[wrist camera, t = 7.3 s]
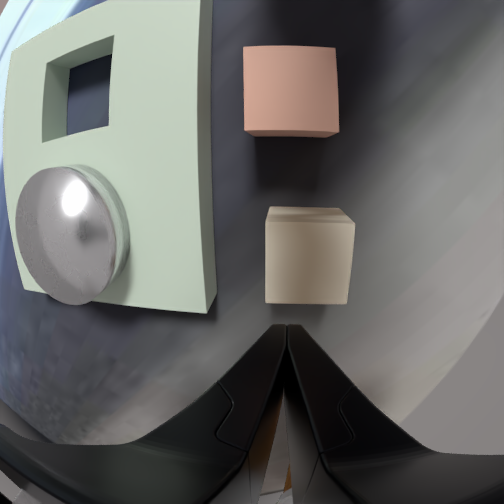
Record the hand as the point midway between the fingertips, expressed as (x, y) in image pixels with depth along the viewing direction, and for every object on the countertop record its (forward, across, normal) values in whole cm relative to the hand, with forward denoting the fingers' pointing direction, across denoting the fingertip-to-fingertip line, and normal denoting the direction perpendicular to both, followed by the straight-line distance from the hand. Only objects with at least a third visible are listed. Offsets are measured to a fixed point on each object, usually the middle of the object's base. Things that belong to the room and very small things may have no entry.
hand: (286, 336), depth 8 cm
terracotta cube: (+11, 0, -9) cm, 14 cm away
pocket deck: (+11, +14, -7) cm, 19 cm away
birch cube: (+11, -1, 0) cm, 11 cm away
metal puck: (+8, +14, -1) cm, 16 cm away
